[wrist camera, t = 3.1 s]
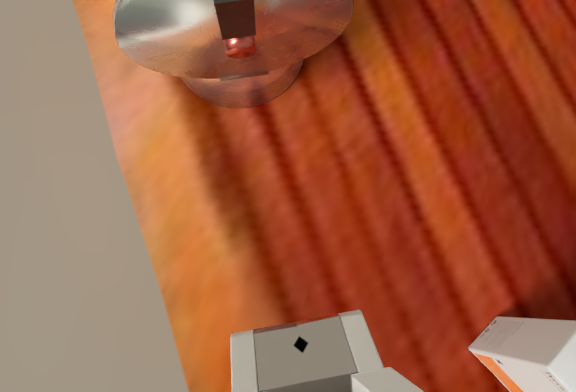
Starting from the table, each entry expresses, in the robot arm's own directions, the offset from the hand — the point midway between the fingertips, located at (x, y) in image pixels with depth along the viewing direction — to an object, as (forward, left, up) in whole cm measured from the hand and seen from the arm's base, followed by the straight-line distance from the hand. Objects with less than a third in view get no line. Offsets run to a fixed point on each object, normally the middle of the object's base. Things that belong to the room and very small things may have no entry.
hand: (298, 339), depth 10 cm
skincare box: (-19, +7, -30) cm, 36 cm away
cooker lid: (0, -19, -14) cm, 24 cm away
